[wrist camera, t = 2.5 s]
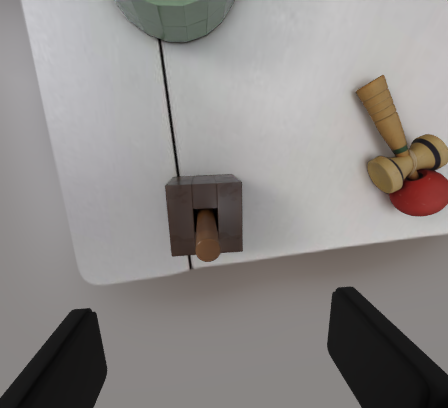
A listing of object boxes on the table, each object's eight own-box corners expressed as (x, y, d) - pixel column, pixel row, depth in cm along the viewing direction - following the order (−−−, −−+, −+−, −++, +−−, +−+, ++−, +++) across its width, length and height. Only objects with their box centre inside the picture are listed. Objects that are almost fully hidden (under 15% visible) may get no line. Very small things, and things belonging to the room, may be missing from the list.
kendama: (323, 111, 29) (384, 226, 32) (361, 87, 23) (434, 233, 25) (367, 83, 31) (424, 196, 33) (415, 54, 24) (481, 196, 26)
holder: (178, 232, 30) (171, 256, 23) (173, 176, 28) (165, 185, 22) (233, 228, 31) (242, 251, 24) (232, 174, 29) (241, 182, 22)
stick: (198, 210, 30) (196, 263, 16) (197, 197, 29) (194, 239, 16) (211, 210, 30) (221, 261, 16) (211, 196, 29) (220, 237, 16)
